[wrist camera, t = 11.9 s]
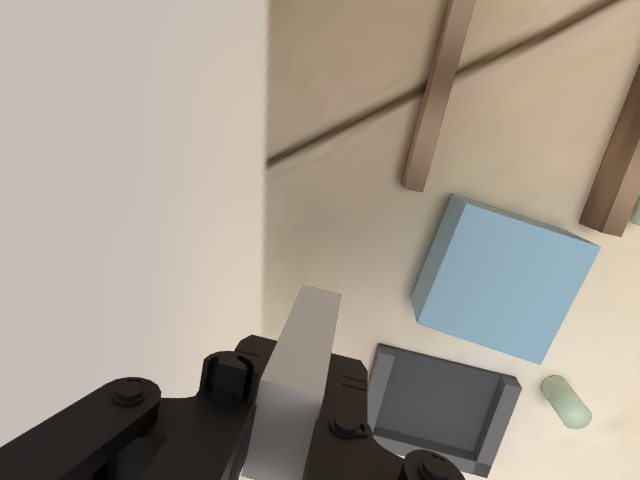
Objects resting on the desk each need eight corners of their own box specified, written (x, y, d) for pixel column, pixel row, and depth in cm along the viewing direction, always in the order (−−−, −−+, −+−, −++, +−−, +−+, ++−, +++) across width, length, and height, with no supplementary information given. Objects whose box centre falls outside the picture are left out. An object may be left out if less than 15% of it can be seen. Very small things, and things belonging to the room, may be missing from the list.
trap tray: (379, 343, 28) (379, 352, 26) (515, 377, 27) (522, 387, 26) (354, 430, 29) (354, 442, 28) (482, 464, 29) (487, 478, 28)
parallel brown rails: (465, -65, 22) (477, -90, 19) (694, -22, 21) (737, -43, 18) (400, 183, 25) (404, 188, 22) (596, 226, 24) (621, 236, 22)
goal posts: (619, 189, 24) (654, 197, 21) (648, 196, 23) (687, 204, 21) (537, 394, 27) (557, 425, 24) (562, 400, 27) (585, 432, 24)
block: (451, 193, 25) (466, 203, 21) (564, 230, 25) (601, 247, 21) (410, 296, 27) (417, 323, 23) (515, 331, 27) (540, 365, 23)
